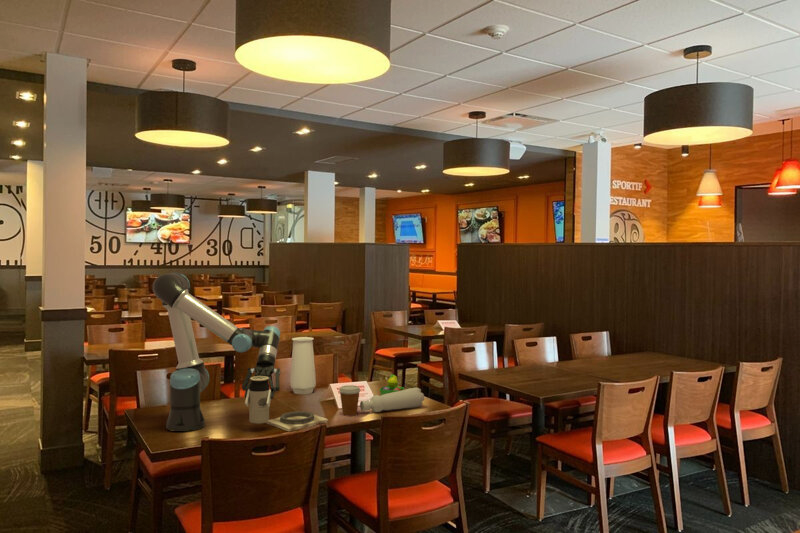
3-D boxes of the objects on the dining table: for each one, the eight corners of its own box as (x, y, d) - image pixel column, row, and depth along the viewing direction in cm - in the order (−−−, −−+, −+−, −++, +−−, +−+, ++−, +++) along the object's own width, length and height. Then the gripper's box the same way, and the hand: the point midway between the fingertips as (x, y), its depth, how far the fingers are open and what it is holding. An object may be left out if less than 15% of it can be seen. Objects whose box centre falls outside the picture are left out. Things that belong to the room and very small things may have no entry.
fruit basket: (379, 399, 302) (378, 377, 302) (383, 395, 311) (383, 373, 310) (401, 401, 300) (401, 377, 299) (405, 396, 308) (405, 374, 308)
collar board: (288, 431, 249) (288, 424, 249) (266, 423, 261) (265, 416, 261) (328, 422, 263) (327, 415, 263) (304, 414, 275) (304, 407, 275)
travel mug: (247, 419, 254) (248, 376, 254) (266, 417, 257) (267, 375, 257) (250, 424, 247) (251, 380, 246) (270, 422, 250) (271, 379, 250)
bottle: (414, 396, 295) (356, 405, 281) (418, 382, 290) (360, 391, 277) (422, 410, 288) (363, 420, 275) (427, 396, 283) (367, 406, 270)
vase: (285, 393, 315) (285, 339, 314) (299, 388, 327) (298, 336, 326) (307, 396, 310) (307, 340, 309) (320, 390, 322) (320, 337, 321)
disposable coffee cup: (352, 417, 269) (351, 390, 269) (334, 414, 274) (334, 388, 274) (364, 413, 277) (364, 386, 277) (347, 410, 282) (347, 384, 282)
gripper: (291, 363, 267) (284, 410, 251) (244, 363, 267) (233, 409, 251) (289, 353, 261) (281, 400, 246) (241, 352, 262) (229, 399, 246)
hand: (257, 404), depth 249 cm, fingers closed on travel mug, 8 cm apart
